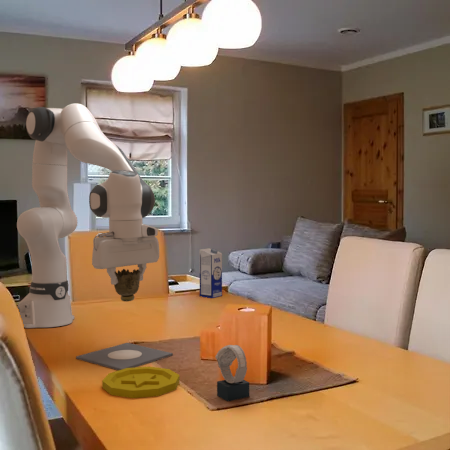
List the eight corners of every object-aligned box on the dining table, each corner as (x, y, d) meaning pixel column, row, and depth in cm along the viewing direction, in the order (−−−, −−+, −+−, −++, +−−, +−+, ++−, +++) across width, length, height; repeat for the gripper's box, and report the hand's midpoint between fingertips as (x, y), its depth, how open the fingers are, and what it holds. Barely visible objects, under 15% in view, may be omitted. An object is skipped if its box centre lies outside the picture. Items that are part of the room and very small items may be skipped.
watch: (233, 388, 134) (233, 340, 133) (253, 399, 127) (254, 348, 126) (212, 393, 131) (211, 343, 130) (231, 404, 124) (231, 352, 123)
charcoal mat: (76, 358, 157) (76, 356, 157) (127, 344, 171) (127, 342, 171) (122, 371, 146) (122, 368, 146) (172, 355, 160) (172, 352, 160)
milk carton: (209, 294, 254) (209, 247, 253) (222, 295, 250) (222, 248, 249) (199, 296, 248) (199, 249, 247) (212, 298, 244) (212, 249, 243)
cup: (146, 297, 162) (144, 268, 161) (134, 304, 155) (132, 274, 154) (121, 296, 165) (119, 268, 164) (108, 303, 158) (106, 273, 157)
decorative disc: (87, 388, 135) (87, 379, 135) (145, 370, 148) (145, 362, 148) (136, 405, 124) (136, 396, 124) (194, 384, 138) (194, 375, 137)
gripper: (100, 233, 149) (102, 288, 150) (162, 229, 164) (163, 278, 165) (86, 232, 153) (87, 286, 154) (147, 228, 168) (148, 277, 169)
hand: (127, 282), depth 159 cm, fingers closed on cup, 7 cm apart
